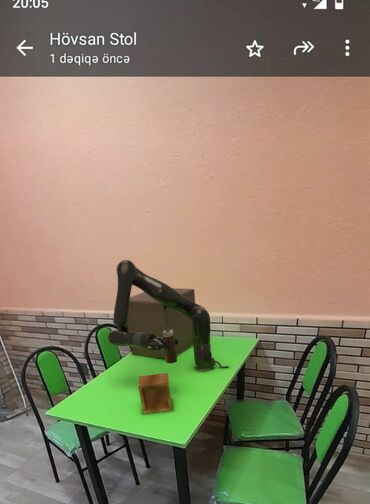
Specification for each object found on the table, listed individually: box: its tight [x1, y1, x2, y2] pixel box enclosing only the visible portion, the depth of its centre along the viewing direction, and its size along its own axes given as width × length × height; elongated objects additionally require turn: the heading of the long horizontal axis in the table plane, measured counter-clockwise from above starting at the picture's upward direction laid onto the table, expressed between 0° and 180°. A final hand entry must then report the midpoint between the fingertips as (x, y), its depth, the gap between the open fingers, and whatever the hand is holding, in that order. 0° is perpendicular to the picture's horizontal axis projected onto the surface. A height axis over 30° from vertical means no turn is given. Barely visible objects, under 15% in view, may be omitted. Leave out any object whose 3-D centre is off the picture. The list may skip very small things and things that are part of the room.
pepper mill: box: [163, 329, 178, 364], centre depth 153 cm, size 5×5×15 cm
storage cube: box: [127, 287, 196, 361], centre depth 210 cm, size 34×29×34 cm
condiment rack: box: [138, 372, 173, 414], centre depth 150 cm, size 13×10×14 cm
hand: (174, 344), depth 151 cm, fingers closed on pepper mill, 5 cm apart
